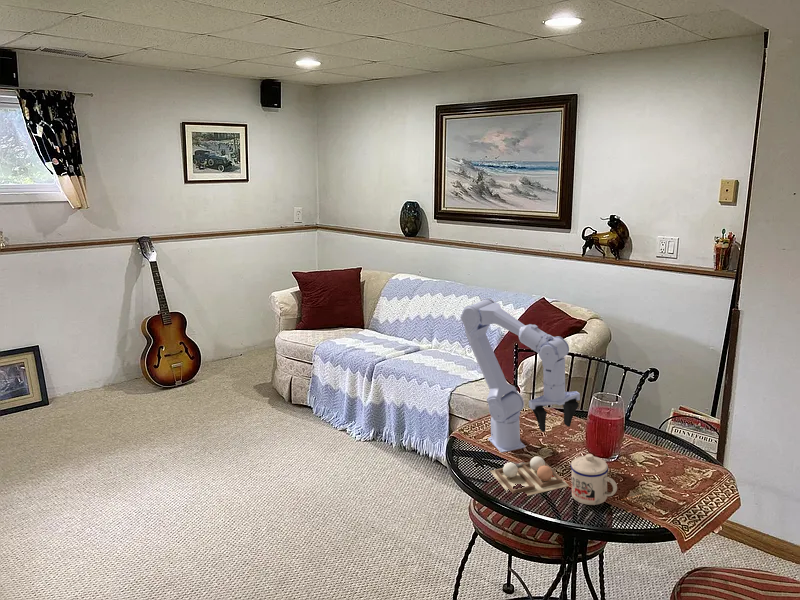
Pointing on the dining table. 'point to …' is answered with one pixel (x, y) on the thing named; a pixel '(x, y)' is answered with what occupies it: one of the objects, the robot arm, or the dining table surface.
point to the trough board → (528, 480)
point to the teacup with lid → (590, 480)
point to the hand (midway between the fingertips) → (554, 427)
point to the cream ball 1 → (510, 470)
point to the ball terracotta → (544, 473)
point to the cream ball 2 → (536, 463)
